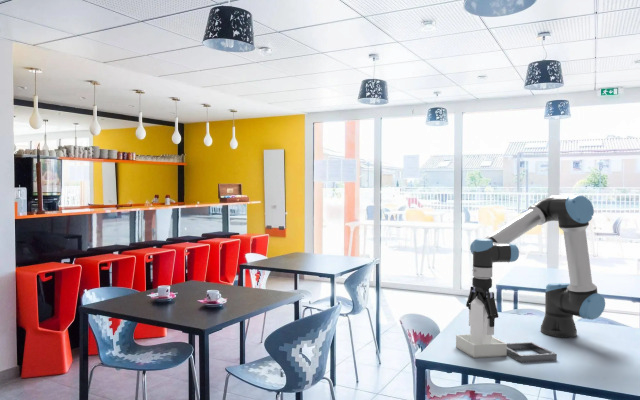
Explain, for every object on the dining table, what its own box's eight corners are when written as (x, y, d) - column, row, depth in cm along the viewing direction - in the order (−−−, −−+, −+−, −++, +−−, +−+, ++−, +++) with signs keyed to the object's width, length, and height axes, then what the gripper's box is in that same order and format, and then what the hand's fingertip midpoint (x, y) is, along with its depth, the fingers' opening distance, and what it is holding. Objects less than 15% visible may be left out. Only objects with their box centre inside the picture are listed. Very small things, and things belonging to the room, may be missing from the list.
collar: (531, 348, 209) (531, 342, 209) (556, 360, 194) (556, 353, 194) (497, 349, 206) (497, 343, 206) (520, 362, 191) (521, 355, 191)
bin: (486, 345, 212) (487, 333, 212) (506, 356, 198) (506, 343, 198) (455, 347, 209) (456, 335, 209) (473, 358, 195) (473, 345, 195)
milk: (482, 353, 199) (483, 298, 199) (469, 349, 204) (470, 295, 203) (491, 350, 203) (492, 296, 202) (479, 346, 208) (479, 293, 207)
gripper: (458, 272, 214) (457, 322, 215) (490, 283, 190) (489, 339, 190) (474, 272, 216) (473, 321, 216) (508, 282, 192) (507, 338, 192)
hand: (481, 330), depth 203 cm, fingers open, 13 cm apart
